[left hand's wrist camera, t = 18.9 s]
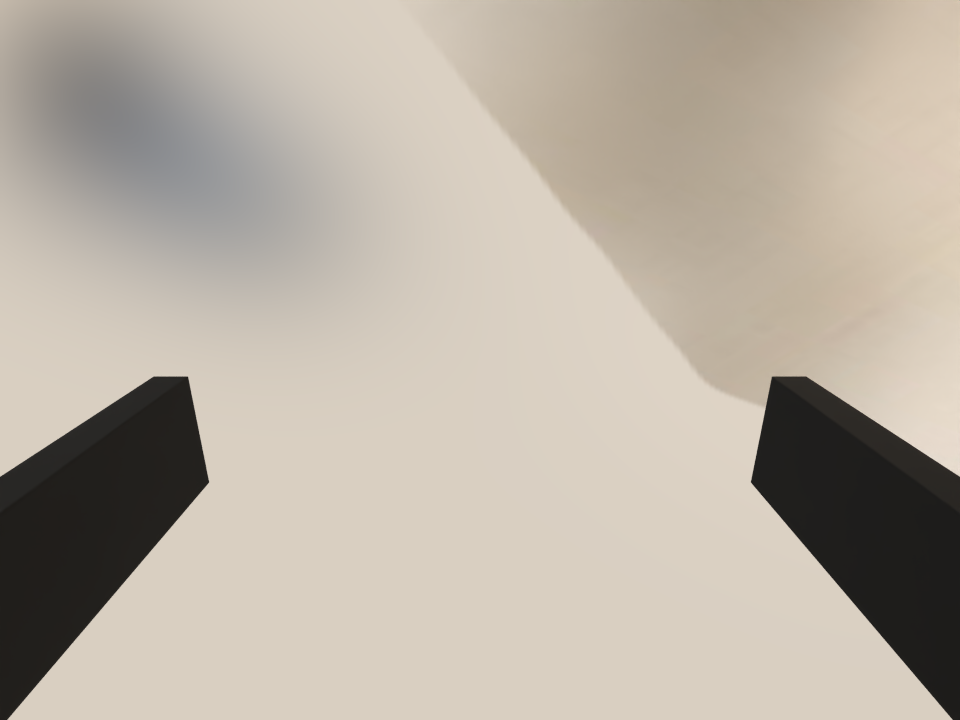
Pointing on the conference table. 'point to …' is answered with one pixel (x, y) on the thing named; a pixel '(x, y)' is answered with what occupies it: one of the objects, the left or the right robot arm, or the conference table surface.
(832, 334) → the conference table surface
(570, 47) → the conference table surface
